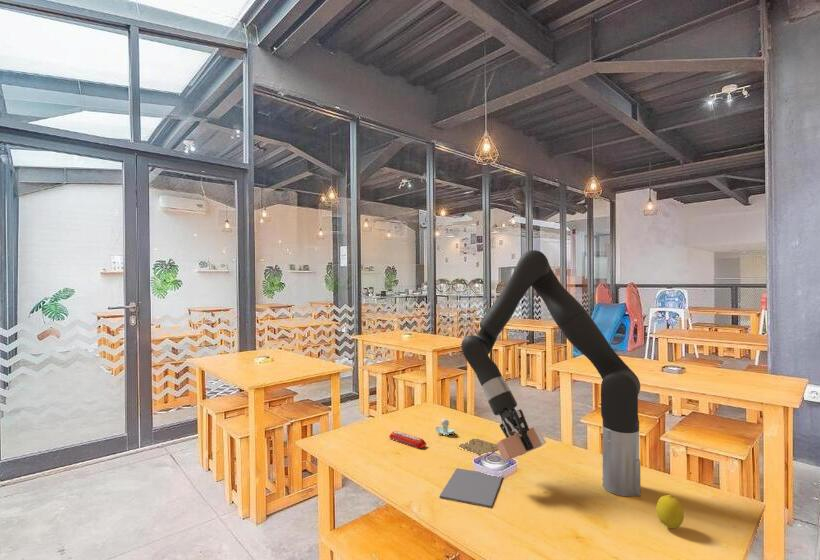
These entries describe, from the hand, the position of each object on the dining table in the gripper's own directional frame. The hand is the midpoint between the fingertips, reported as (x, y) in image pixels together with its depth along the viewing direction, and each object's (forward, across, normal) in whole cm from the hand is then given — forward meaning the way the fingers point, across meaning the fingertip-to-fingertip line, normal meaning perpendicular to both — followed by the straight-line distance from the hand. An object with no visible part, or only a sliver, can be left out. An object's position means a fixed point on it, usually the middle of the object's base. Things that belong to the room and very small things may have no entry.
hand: (526, 451), depth 120 cm
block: (-3, 0, +6) cm, 7 cm away
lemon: (+28, -13, -18) cm, 36 cm away
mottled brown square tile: (-9, +32, +1) cm, 33 cm away
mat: (+2, +9, +16) cm, 18 cm away
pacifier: (-19, +43, +7) cm, 48 cm away
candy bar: (-20, +38, +24) cm, 49 cm away
